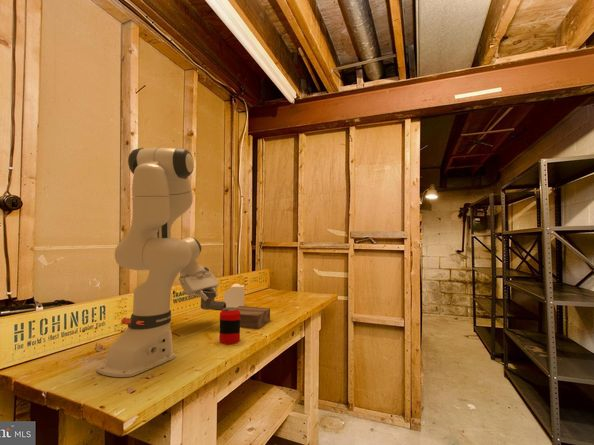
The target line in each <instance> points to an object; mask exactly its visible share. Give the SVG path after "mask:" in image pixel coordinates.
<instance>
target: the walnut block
mask: <svg viewBox="0 0 594 445" xmlns="http://www.w3.org/2000/svg"><path fill="white" fill-rule="evenodd" d="M236 308H238V310H239V311H240V329H241V328H242V329H249V330H259V329H260V328H262V327H264V326H265V325H266V324H267V323H269V322H270V321H271V308H269V307H259V306H247V305H246V306H245V305H244V306H238V307H236Z"/></svg>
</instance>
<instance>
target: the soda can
mask: <svg viewBox="0 0 594 445" xmlns="http://www.w3.org/2000/svg"><path fill="white" fill-rule="evenodd" d="M218 340H219V343H220V344H222V345H235V344H238V342H240V341H241V328H240V311H239V310H238V308H235V307H226V308H224V309H223V310H222V311H219V339H218Z"/></svg>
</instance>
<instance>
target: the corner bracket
mask: <svg viewBox="0 0 594 445" xmlns="http://www.w3.org/2000/svg"><path fill="white" fill-rule="evenodd" d="M222 299H223V300H222V302H225V303H226V308H228V307H235V308H236V307H238V306H245V285H244V284H240V283H233V284H232V285H231V286H230V287H229V288H228V289H227V290H226V291H225V292H224V293H223V298H222Z"/></svg>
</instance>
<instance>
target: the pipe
mask: <svg viewBox="0 0 594 445" xmlns="http://www.w3.org/2000/svg"><path fill="white" fill-rule="evenodd" d="M202 291H203V293H204V294H205V295H208V297H209V299H208V300H206V301H204V300H203V298H201V297H200V308H201V309H202V310H206V311H207V310H212V311H219V312H221V311H222V310H223V309H224V308H227V307H226V303H225V302H223V301H218V300H215V299H216V298H215V293H217V291H214V290H209V289H205V290H202Z"/></svg>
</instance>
